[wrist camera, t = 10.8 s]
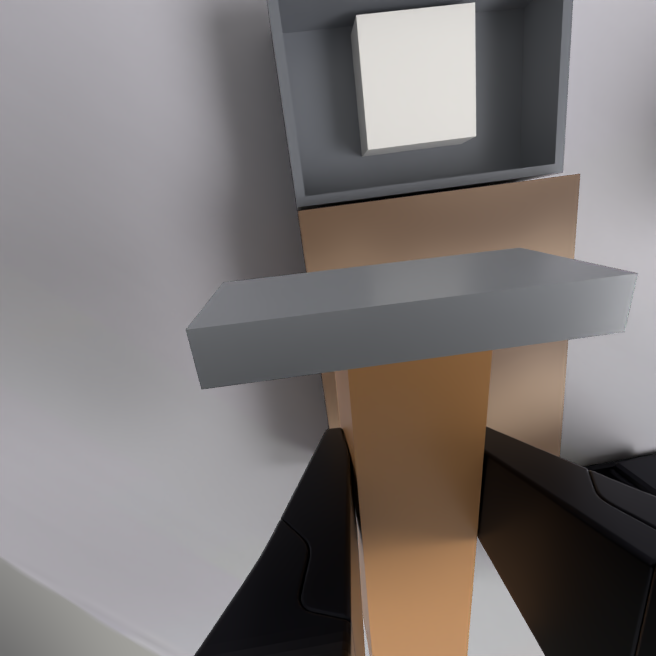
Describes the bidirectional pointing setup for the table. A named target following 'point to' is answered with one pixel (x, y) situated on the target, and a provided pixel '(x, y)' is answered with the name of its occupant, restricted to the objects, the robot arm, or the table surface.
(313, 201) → the box
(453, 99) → the tile
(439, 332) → the scraper
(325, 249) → the tan block
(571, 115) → the table surface
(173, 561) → the table surface
